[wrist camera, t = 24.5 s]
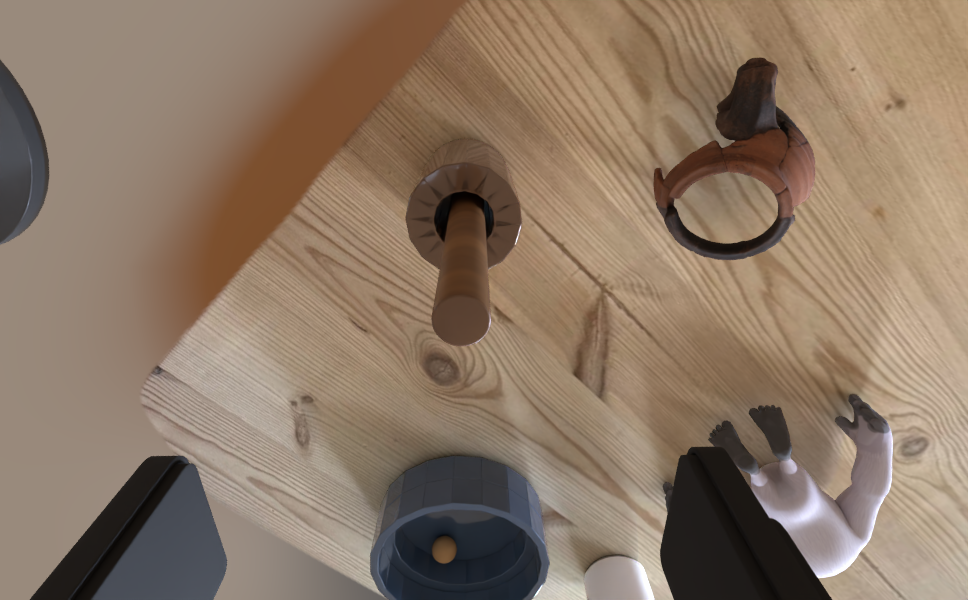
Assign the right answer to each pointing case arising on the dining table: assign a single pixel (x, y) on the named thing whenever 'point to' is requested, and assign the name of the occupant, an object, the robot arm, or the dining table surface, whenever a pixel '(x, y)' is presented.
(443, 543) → the cork ball
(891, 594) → the dining table surface
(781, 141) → the broken pottery
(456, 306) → the stick
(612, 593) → the can
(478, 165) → the holder
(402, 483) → the bowl
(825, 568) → the yeti figurine
